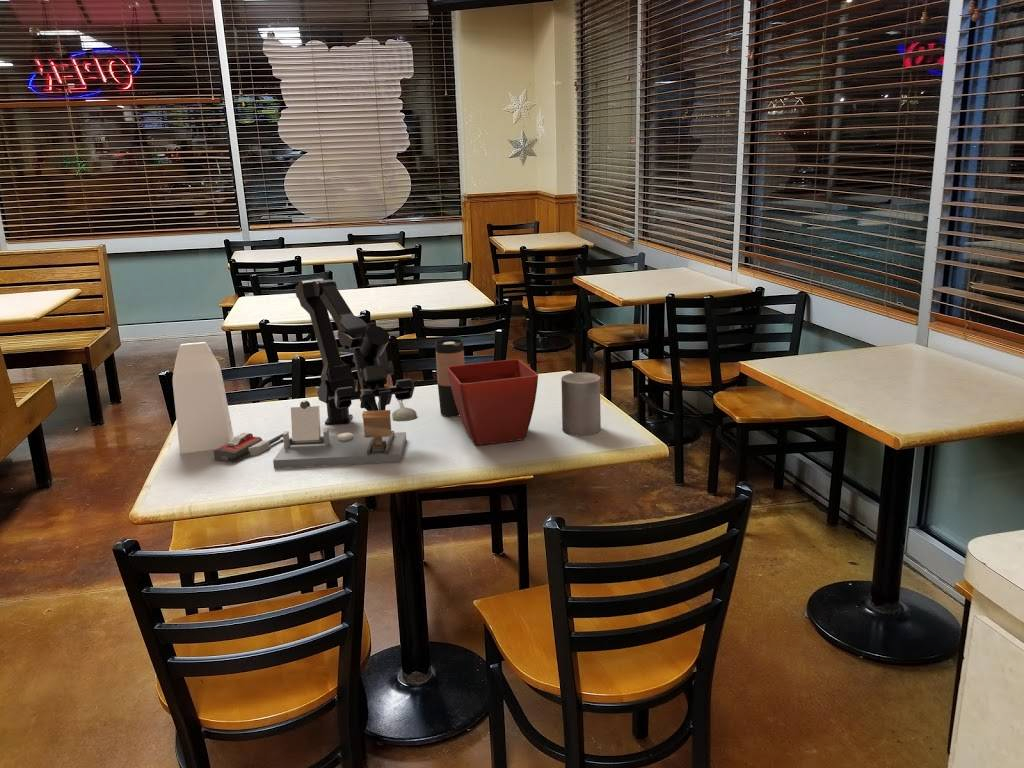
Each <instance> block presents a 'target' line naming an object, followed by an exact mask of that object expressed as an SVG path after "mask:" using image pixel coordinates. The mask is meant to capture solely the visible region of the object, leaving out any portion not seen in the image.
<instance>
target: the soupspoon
mask: <svg viewBox="0 0 1024 768" xmlns="http://www.w3.org/2000/svg"><path fill="white" fill-rule="evenodd" d="M396 400H397V401H398V402H399V406H400V408H397V409H396V410H394V411H393V412H392V414H391V416H392V418H393V419H392V420H394V421H396V422H408V421H412V420H416V419H417V417H418V416H417V411H416V410H414V409H412V408H411V407H405V406H404V403H403V400H398V399H396Z"/></svg>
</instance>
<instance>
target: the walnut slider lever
mask: <svg viewBox="0 0 1024 768" xmlns="http://www.w3.org/2000/svg"><path fill="white" fill-rule="evenodd" d="M361 417H362V420H363V421H362V422H363V431H364V432H363V434H365V438H369V437H375V441H374V443H373V446H372V452H379V451H385V448H386V441H382V437H389V436H391V434H392V432H391V431H392V421H391V409H385V410H378V411H367V410H364V411H362V413H361Z"/></svg>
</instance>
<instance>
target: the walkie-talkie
mask: <svg viewBox="0 0 1024 768" xmlns="http://www.w3.org/2000/svg"><path fill="white" fill-rule="evenodd" d="M283 433H284V432H283ZM283 433H281V434H278V435H277V436H275V437H273V438H271V439H269V440H263V438H262V437H260V436H254V435H253V434H252V433H249V432H241V433H240V434H238V435H236V436H233V438H232V442H226V445H224V446H222V447H220V448H218V449H215V450H212V451H213V457H214V462H223V463H231V462H232V464H233V463H237V462H239V461H242V460H243V459H244V458H247V457H248V456H249V455H250V456H255V455H260V454H262V453H264V452H266V451H267V449H268V450H269V449H271V445H272V444H274V443H276V442H278V441H280V440H281V439H282V438H283ZM263 451H264V452H263Z"/></svg>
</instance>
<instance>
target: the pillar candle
mask: <svg viewBox="0 0 1024 768" xmlns="http://www.w3.org/2000/svg"><path fill="white" fill-rule="evenodd" d="M560 384H561V419H562V428H561V429H562V432H563V431H564V432H563V433H564V434H567V435H571V436H576V435H578V437H580V436H581V437H582V436H583V435H586V436H591V434H592V435H594V434H596V433H598V432H600V431H601V428H602V427H601V426H602V425H601V419H602V417H601V415H602V414H601V376H599V375H598V374H595V373H591V372H572V373H568V374H565V375H563V376H561V382H560ZM583 437H584V436H583Z"/></svg>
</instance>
